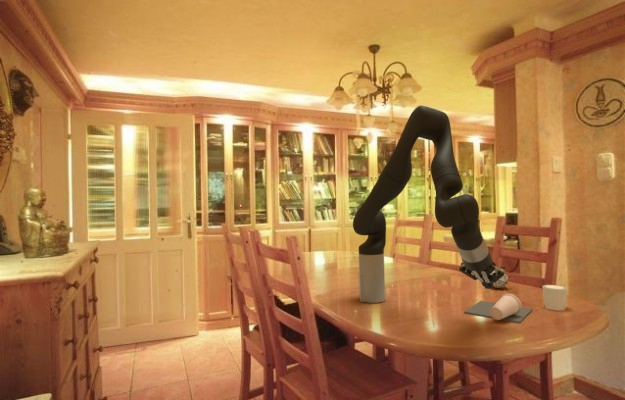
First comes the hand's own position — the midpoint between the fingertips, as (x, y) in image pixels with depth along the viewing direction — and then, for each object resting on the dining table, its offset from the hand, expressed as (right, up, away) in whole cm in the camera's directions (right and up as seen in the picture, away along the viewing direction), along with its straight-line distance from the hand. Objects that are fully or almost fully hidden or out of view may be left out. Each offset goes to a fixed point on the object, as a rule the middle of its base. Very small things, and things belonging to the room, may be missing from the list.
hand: (488, 286), depth 112 cm
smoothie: (0, -7, -4) cm, 8 cm away
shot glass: (+26, -9, +9) cm, 29 cm away
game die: (+21, -10, +36) cm, 43 cm away
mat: (+6, -10, +7) cm, 14 cm away
